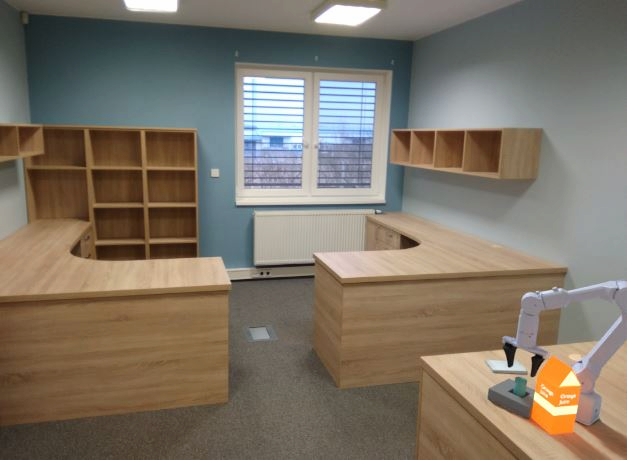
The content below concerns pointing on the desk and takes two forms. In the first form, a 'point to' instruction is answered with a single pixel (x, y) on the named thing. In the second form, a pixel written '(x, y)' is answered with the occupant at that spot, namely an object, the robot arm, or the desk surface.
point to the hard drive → (505, 367)
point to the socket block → (512, 398)
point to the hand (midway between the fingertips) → (521, 371)
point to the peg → (520, 386)
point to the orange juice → (556, 397)
